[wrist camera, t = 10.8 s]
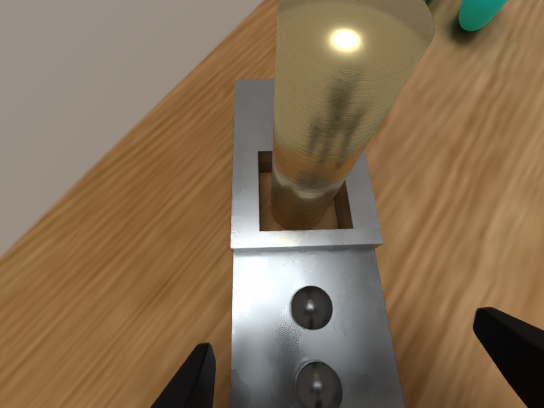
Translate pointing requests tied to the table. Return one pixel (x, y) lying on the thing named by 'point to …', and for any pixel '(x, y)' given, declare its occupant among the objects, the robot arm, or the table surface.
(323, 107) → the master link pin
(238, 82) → the bolted metal plate
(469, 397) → the table surface
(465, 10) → the donuts
